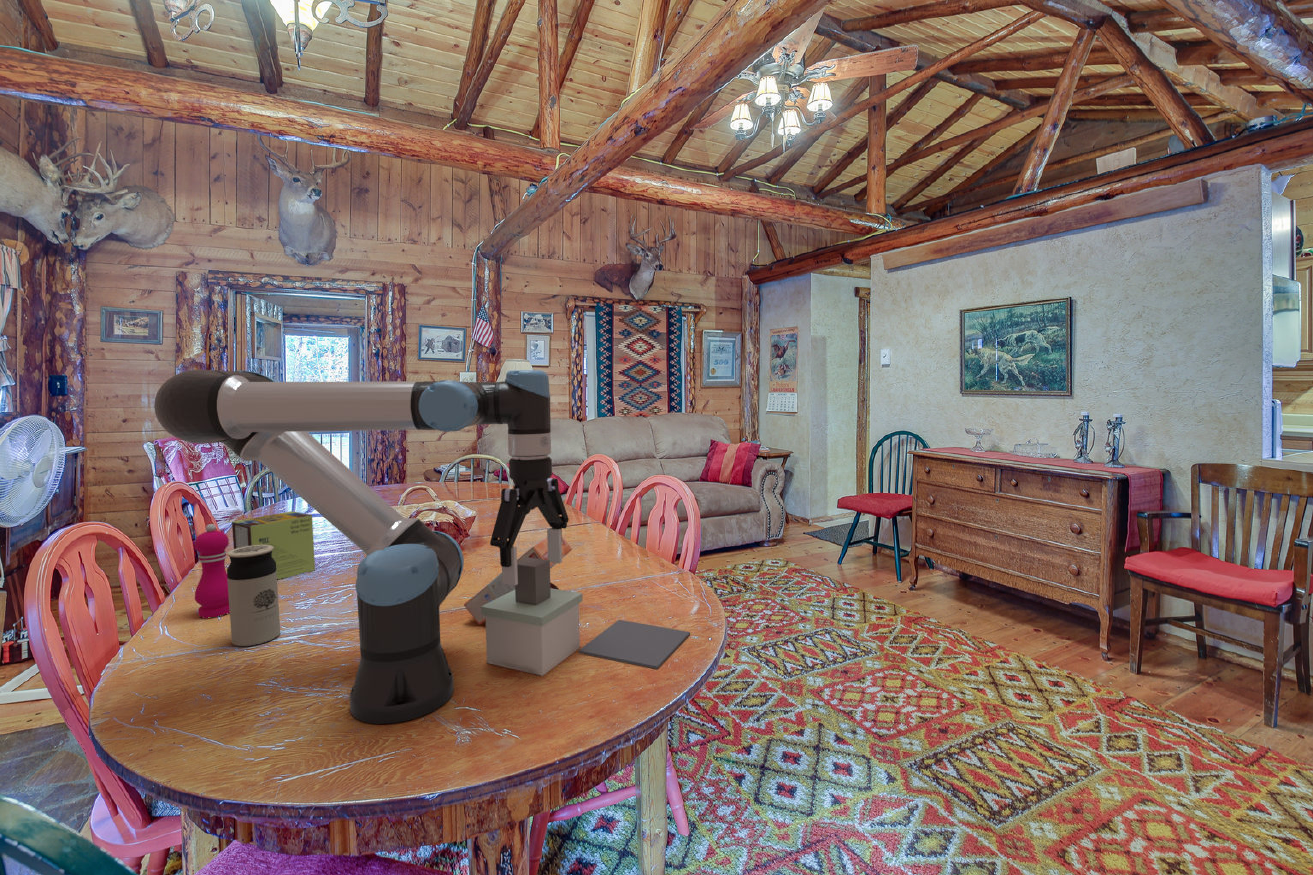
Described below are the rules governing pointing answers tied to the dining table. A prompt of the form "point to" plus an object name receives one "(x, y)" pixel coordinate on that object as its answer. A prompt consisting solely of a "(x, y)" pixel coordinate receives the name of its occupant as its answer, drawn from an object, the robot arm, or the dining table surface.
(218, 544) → the pepper mill
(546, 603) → the lid
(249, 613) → the travel mug
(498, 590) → the cracker box
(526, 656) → the storage box
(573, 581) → the dining table surface
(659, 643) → the mat
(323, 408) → the robot arm
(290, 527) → the protein box
